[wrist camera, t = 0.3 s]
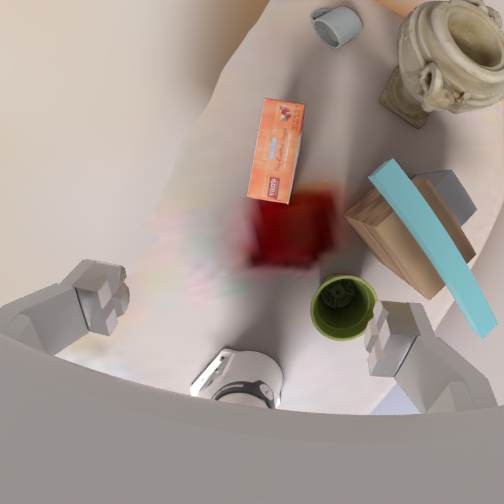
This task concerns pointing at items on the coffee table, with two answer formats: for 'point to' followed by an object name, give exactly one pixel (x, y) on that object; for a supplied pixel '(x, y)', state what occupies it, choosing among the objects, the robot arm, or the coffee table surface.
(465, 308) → the teal bar
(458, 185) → the grey block
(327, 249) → the coffee table surface
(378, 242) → the walnut tower
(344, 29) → the ceramic mug
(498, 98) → the urn
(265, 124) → the cracker box
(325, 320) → the plant pot
